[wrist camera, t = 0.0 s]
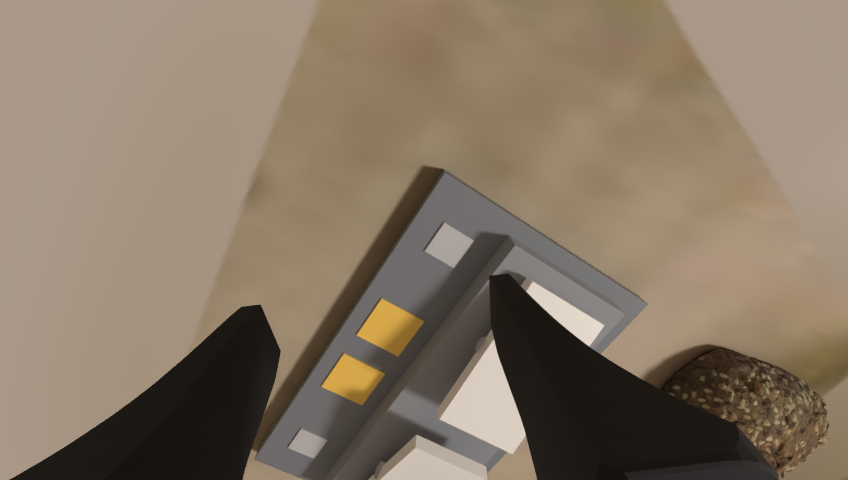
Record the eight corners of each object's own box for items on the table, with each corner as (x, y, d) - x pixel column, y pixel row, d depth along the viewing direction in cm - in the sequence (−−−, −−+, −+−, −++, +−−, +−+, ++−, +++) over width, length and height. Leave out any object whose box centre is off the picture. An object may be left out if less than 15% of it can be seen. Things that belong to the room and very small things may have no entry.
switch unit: (431, 517, 31) (433, 552, 29) (259, 447, 28) (245, 479, 26) (639, 296, 24) (662, 317, 22) (443, 169, 21) (447, 178, 19)
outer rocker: (504, 437, 23) (512, 454, 22) (435, 404, 22) (439, 419, 21) (591, 315, 22) (604, 325, 21) (523, 274, 21) (532, 281, 20)
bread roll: (718, 322, 26) (786, 372, 21) (830, 398, 28) (912, 457, 24) (591, 444, 29) (625, 510, 25) (701, 501, 32) (750, 570, 27)
